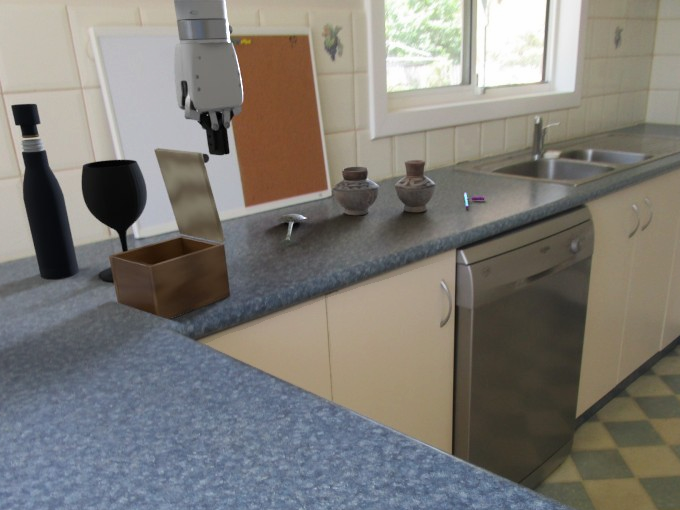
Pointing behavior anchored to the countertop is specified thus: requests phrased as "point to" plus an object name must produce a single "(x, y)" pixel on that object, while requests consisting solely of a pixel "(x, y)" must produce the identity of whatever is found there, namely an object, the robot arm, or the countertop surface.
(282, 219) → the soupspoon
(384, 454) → the countertop surface
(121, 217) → the wine glass
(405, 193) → the pottery
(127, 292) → the chest
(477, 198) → the squeegee
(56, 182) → the black water bottle
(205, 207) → the chest lid
